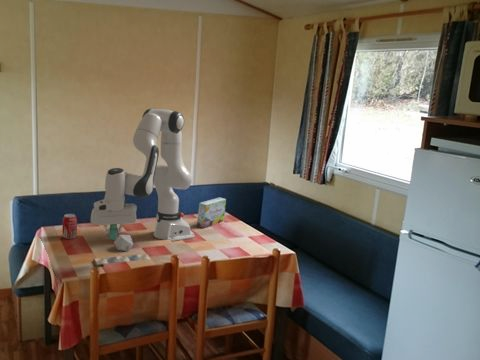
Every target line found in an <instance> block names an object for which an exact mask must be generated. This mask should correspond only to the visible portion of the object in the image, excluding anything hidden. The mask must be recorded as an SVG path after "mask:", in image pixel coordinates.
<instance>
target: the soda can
mask: <svg viewBox="0 0 480 360" xmlns="http://www.w3.org/2000/svg"><path fill="white" fill-rule="evenodd" d="M77 234H78V218H77V215H76V214H75V213H66V214H64V215H63V217H62V237H63V239H64V238H65V239H67V240H72V239H75V238H76V237H77Z"/></svg>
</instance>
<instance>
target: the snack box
mask: <svg viewBox="0 0 480 360" xmlns="http://www.w3.org/2000/svg"><path fill="white" fill-rule="evenodd" d="M226 204H227V199H226V198H223V197H220V196H219V197H215V198H212V199H209V200H205V201H200V202H199V203H198V212H197V222H196V227H198V228H201V229H206V228H208V227H212V226H215V225H218V224H220V222H221V223H224V222H223V221H224V220H225V212H226ZM217 223H218V224H217ZM214 224H215V225H214Z"/></svg>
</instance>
